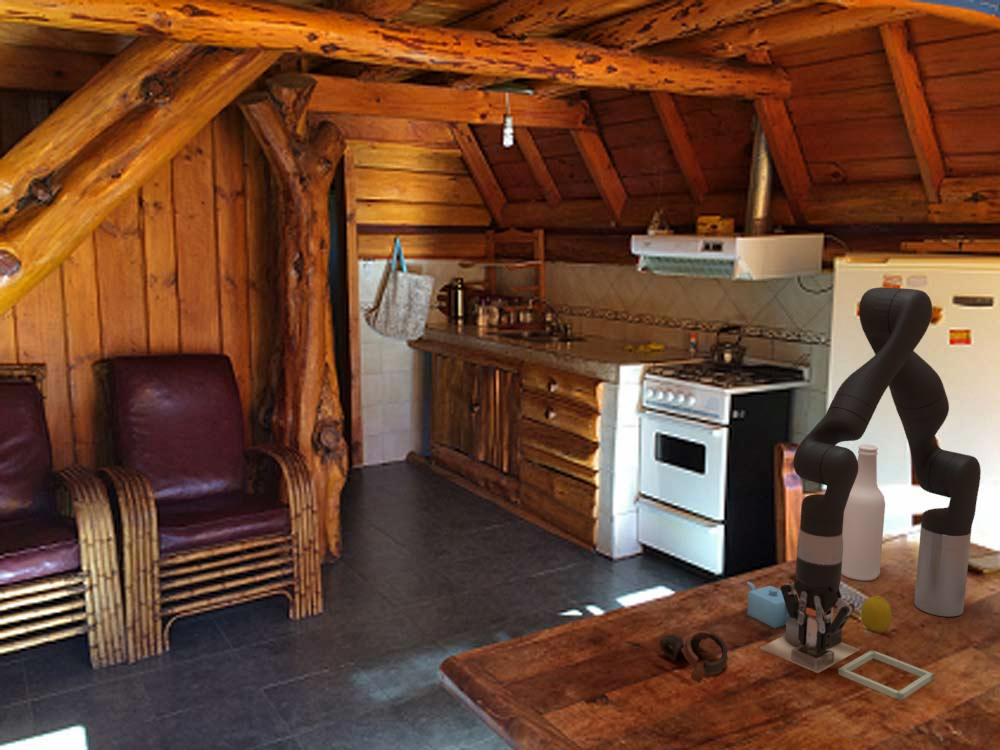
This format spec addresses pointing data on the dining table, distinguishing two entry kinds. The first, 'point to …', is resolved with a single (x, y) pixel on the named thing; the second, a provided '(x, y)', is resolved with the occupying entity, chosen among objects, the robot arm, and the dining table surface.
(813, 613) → the pin
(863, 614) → the lemon
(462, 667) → the dining table surface
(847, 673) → the tray
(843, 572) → the alcohol
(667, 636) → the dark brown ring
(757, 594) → the teapot
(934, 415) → the robot arm
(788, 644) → the pulley board
